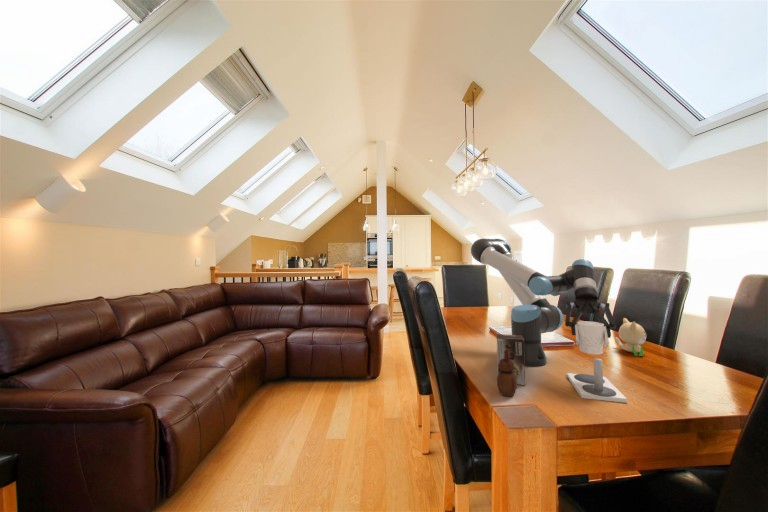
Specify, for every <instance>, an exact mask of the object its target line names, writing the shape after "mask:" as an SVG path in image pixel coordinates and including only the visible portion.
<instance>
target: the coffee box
mask: <svg viewBox="0 0 768 512" xmlns="http://www.w3.org/2000/svg"><path fill="white" fill-rule="evenodd" d="M506 350H508V359H510V360H512V361H513V363H514V370H513V372H514V373H515V375H516V379H517V384H521V385H520V386H526V385H527V384H526V365H525V355H524V339H523V336H522V335H512V334H503V333H502V334H501V333H499V334H496V353H497V355H496V356H497V374H498V373H499V371H501V370H500V368H499V362H500V360H501V359H504V355H505V352H506Z"/></svg>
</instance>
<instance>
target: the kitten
mask: <svg viewBox="0 0 768 512" xmlns="http://www.w3.org/2000/svg"><path fill="white" fill-rule="evenodd" d="M618 336H619V338H618V337H617V336H616V337H615V338H614V341H615V343H616V344H617V345H618V346H619V347H620V348H621V349H623V350H625V351H626V352H629V353H633V356H635V357H639V356H643V357H644V349H643V346H642V344H644V343H645V342H646V339H647V336H648V334H647V332H646V331H645V329H644V328H643V326H642V325H641V324H639V323H636V321H632V322H630V321H629V320H628V319H627V318H626V317H623V318H622V324H621V326H620V327H619V329H618ZM620 339H621V340H622V341H623V342H625V343H624V344H623V343H622V342H621V340H620Z"/></svg>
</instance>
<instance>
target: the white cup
mask: <svg viewBox="0 0 768 512" xmlns="http://www.w3.org/2000/svg"><path fill="white" fill-rule="evenodd" d="M576 325H577V326H578V336H579V350H580V351H579V352H582V353H585V354H589V355H602V354H604V345H605V342H604V324H603V323H600V322H599V321H598V322H597V321H592V320H591V321H590V320H589V321H588V320H587V321H586V320H585V321H584V320H581V321H580V320H579V321H578V322H577V324H576Z"/></svg>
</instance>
